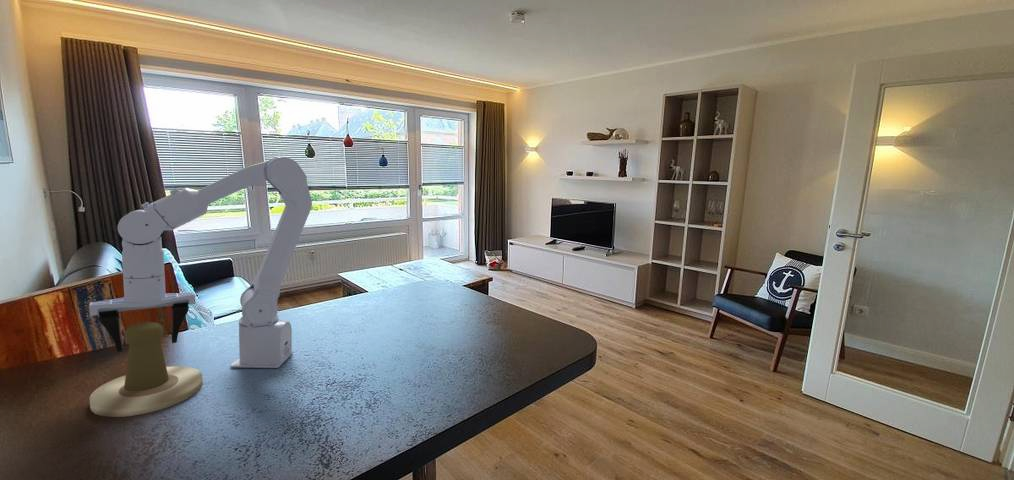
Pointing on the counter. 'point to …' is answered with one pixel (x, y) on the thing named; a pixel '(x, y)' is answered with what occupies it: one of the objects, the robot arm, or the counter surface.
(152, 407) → the birch stand
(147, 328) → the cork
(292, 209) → the robot arm
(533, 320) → the counter surface
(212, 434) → the counter surface
